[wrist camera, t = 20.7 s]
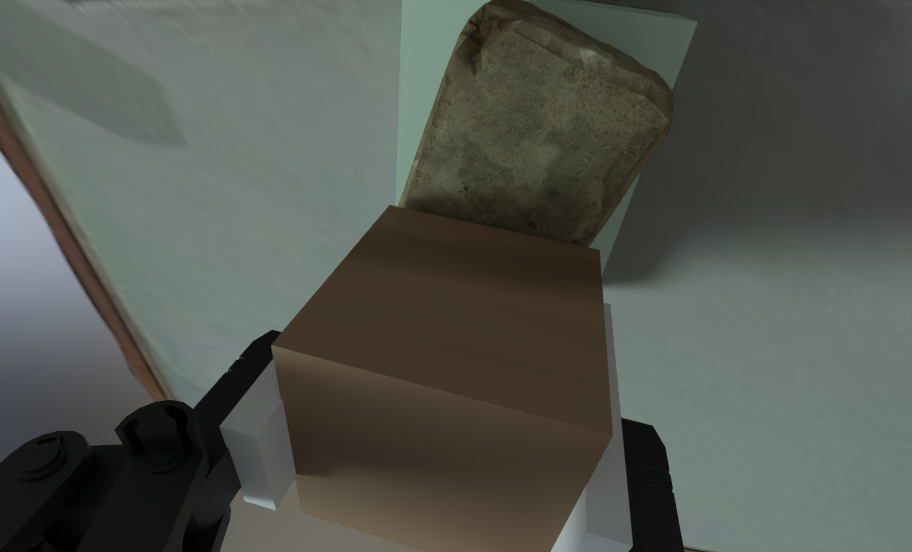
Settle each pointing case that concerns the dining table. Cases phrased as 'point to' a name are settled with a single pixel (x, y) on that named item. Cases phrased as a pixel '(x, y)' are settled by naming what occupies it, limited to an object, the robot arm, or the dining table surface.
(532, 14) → the stone block
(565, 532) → the robot arm
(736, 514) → the dining table surface
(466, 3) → the base slab
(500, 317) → the walnut cube
